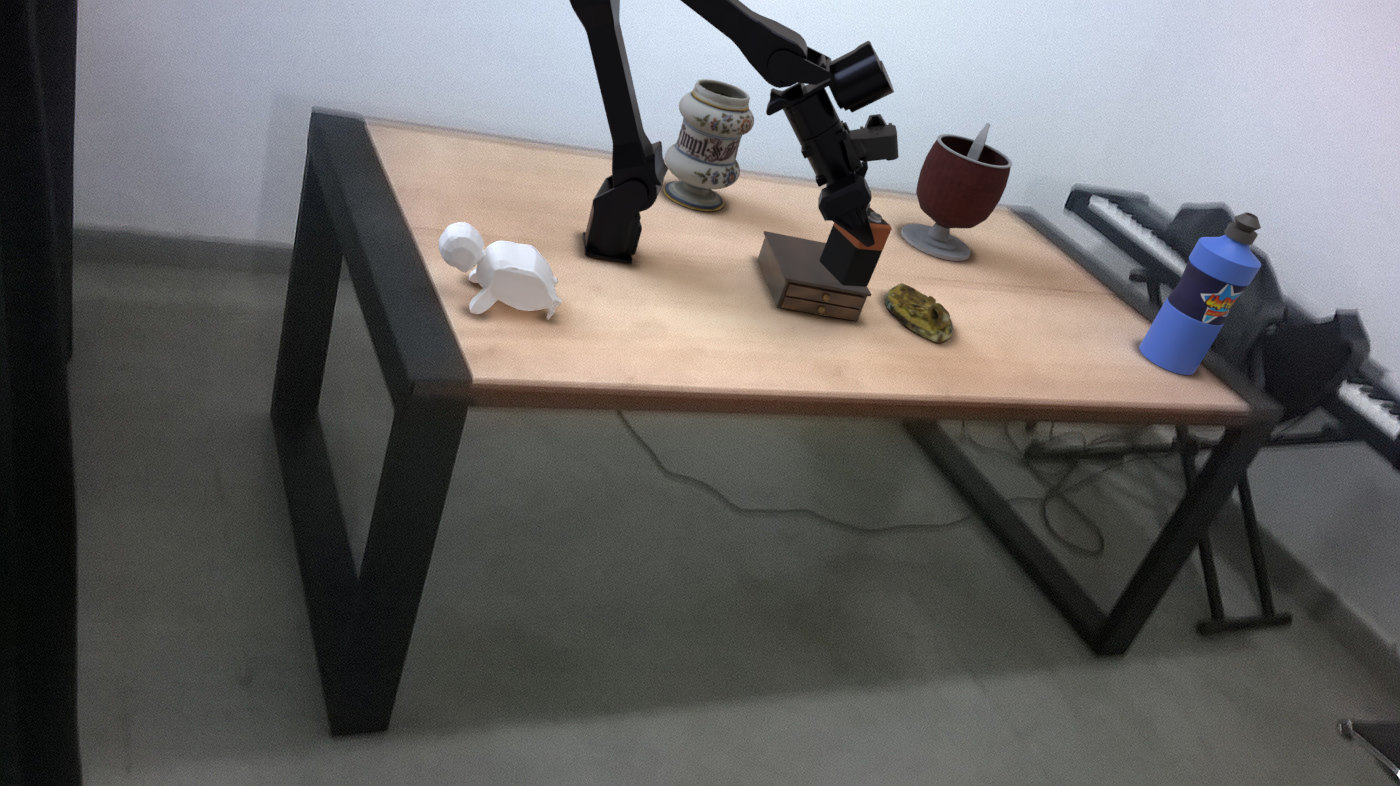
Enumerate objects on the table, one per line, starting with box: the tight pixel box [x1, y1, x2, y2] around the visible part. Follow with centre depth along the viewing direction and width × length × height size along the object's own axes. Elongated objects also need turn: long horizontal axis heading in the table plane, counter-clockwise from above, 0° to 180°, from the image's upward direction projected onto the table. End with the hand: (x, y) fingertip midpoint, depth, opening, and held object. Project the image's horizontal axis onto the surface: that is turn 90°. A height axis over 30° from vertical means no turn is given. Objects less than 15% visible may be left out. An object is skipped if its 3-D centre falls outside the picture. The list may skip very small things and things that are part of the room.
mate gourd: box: [900, 122, 1013, 262], centre depth 178 cm, size 16×14×20 cm
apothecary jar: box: [662, 78, 755, 212], centre depth 165 cm, size 12×12×18 cm
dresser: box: [756, 230, 872, 322], centre depth 150 cm, size 13×16×5 cm
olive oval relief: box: [884, 283, 954, 343], centre depth 154 cm, size 9×5×15 cm
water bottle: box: [1138, 212, 1262, 376], centre depth 161 cm, size 9×9×25 cm
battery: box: [820, 202, 892, 287], centre depth 140 cm, size 4×7×10 cm, turn 24°
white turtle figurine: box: [438, 221, 562, 321], centre depth 123 cm, size 9×8×15 cm
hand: (870, 233), depth 139 cm, fingers closed on battery, 7 cm apart
